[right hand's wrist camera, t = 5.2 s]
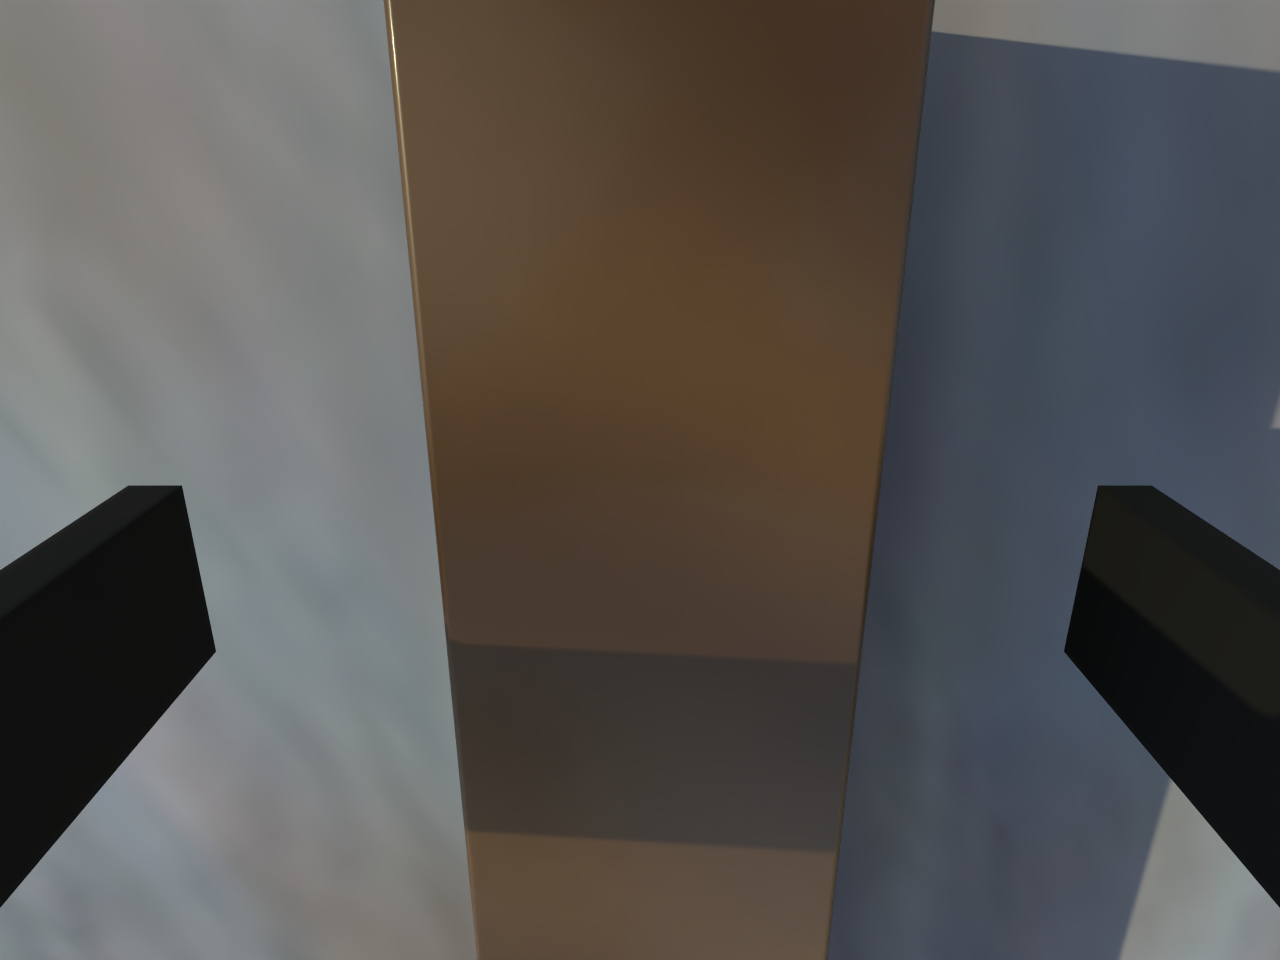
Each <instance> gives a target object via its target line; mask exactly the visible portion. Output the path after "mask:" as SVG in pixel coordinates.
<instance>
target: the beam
mask: <svg viewBox="0 0 1280 960" xmlns="http://www.w3.org/2000/svg"><path fill="white" fill-rule="evenodd" d="M934 5H935V0H384V7H385V17H386V28H387V38H388V48H389V58H390V69H391V79H392V89H393V99H394V110H395V120H396V130H397V140H398V151H399V161H400V171H401V182H402V192H403V202H404V212H405V223H406V233H407V243H408V253H409V264H410V274H411V284H412V294H413V305H414V315H415V325H416V336H417V346H418V356H419V366H420V377H421V387H422V397H423V407H424V418H425V428H426V438H427V448H428V459H429V469H430V479H431V490H432V500H433V510H434V520H435V531H436V541H437V551H438V561H439V572H440V582H441V592H442V602H443V613H444V623H445V633H446V643H447V654H448V664H449V674H450V685H451V695H452V705H453V715H454V726H455V736H456V746H457V756H458V767H459V777H460V787H461V797H462V808H463V818H464V828H465V839H466V849H467V859H468V869H469V880H470V890H471V900H472V910H473V921H474V931H475V941H476V951H477V960H827V958H828V949H829V940H830V931H831V922H832V913H833V904H834V895H835V887H836V878H837V869H838V860H839V851H840V842H841V833H842V824H843V815H844V806H845V797H846V789H847V780H848V771H849V762H850V753H851V744H852V735H853V726H854V717H855V708H856V700H857V691H858V682H859V673H860V664H861V655H862V646H863V637H864V628H865V619H866V611H867V602H868V593H869V584H870V575H871V566H872V557H873V548H874V539H875V530H876V521H877V513H878V504H879V495H880V486H881V477H882V468H883V459H884V450H885V441H886V432H887V424H888V415H889V406H890V397H891V388H892V379H893V370H894V361H895V352H896V343H897V334H898V326H899V317H900V308H901V299H902V290H903V281H904V272H905V263H906V254H907V245H908V237H909V228H910V219H911V210H912V201H913V192H914V183H915V174H916V165H917V156H918V147H919V139H920V130H921V121H922V112H923V103H924V94H925V85H926V76H927V67H928V58H929V50H930V41H931V32H932V23H933V14H934Z"/></svg>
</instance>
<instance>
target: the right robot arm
mask: <svg viewBox="0 0 1280 960" xmlns="http://www.w3.org/2000/svg"><path fill="white" fill-rule="evenodd" d="M215 652H216V649H215V645H214V640H213V635H212V630H211V625H210V620H209V615H208V610H207V606H206V601H205V596H204V591H203V586H202V581H201V576H200V572H199V567H198V562H197V557H196V552H195V547H194V542H193V537H192V533H191V528H190V523H189V518H188V513H187V508H186V503H185V499H184V494H183V489H182V486H127V487H126V488H124V489H123V490H121V491H120V492H118V493H117V494H115V495H113V496H112V497H110V498H109V499H107V500H106V501H104V502H103V503H101V504H100V505H98V506H97V507H95V508H94V509H92V510H91V511H89V512H88V513H86V514H85V515H83V516H82V517H80V518H79V519H77V520H76V521H74V522H73V523H71V524H70V525H68V526H67V527H65V528H63V529H62V530H60V531H59V532H57V533H56V534H54V535H53V536H51V537H50V538H48V539H47V540H45V541H44V542H42V543H41V544H39V545H38V546H36V547H35V548H33V549H32V550H30V551H29V552H27V553H26V554H24V555H23V556H21V557H20V558H18V559H17V560H15V561H13V562H12V563H10V564H9V565H7V566H6V567H4V568H3V569H1V570H0V907H1V906H2V905H3V904H4V903H5V901H6V900H7V899H8V898H9V897H10V895H11V894H12V893H13V892H14V891H15V889H16V888H17V887H18V886H19V885H20V884H21V882H22V881H23V880H24V879H25V878H26V876H27V875H28V874H29V873H30V872H31V870H32V869H33V868H34V867H35V866H36V865H37V863H38V862H39V861H40V860H41V859H42V857H43V856H44V855H45V854H46V853H47V851H48V850H49V849H50V848H51V847H52V846H53V844H54V843H55V842H56V841H57V840H58V838H59V837H60V836H61V835H62V834H63V832H64V831H65V830H66V829H67V828H68V827H69V825H70V824H71V823H72V822H73V821H74V819H75V818H76V817H77V816H78V815H79V813H80V812H81V811H82V810H83V809H84V808H85V806H86V805H87V804H88V803H89V802H90V800H91V799H92V798H93V797H94V796H95V794H96V793H97V792H98V791H99V790H100V789H101V787H102V786H103V785H104V784H105V783H106V781H107V780H108V779H109V778H110V777H111V775H112V774H113V773H114V772H115V771H116V770H117V768H118V767H119V766H120V765H121V764H122V762H123V761H124V760H125V759H126V758H127V756H128V755H129V754H130V753H131V752H132V751H133V749H134V748H135V747H136V746H137V745H138V743H139V742H140V741H141V740H142V739H143V737H144V736H145V735H146V734H147V733H148V732H149V730H150V729H151V728H152V727H153V726H154V724H155V723H156V722H157V721H158V720H159V718H160V717H161V716H162V715H163V714H164V713H165V711H166V710H167V709H168V708H169V707H170V705H171V704H172V703H173V702H174V701H175V699H176V698H177V697H178V696H179V695H180V694H181V692H182V691H183V690H184V689H185V688H186V686H187V685H188V684H189V683H190V682H191V681H192V679H193V678H194V677H195V676H196V675H197V673H198V672H199V671H200V670H201V669H202V667H203V666H204V665H205V664H206V663H207V662H208V660H209V659H210V658H211V657H212V656H213V654H214V653H215ZM1064 652H1065V653H1066V654H1067V656H1068V657H1069V658H1070V659H1071V660H1072V662H1073V663H1074V664H1075V665H1076V666H1077V667H1078V669H1079V670H1080V671H1081V672H1082V673H1083V675H1084V676H1085V677H1086V678H1087V679H1088V681H1089V682H1090V683H1091V684H1092V685H1093V686H1094V688H1095V689H1096V690H1097V691H1098V692H1099V694H1100V695H1101V696H1102V697H1103V698H1104V700H1105V701H1106V702H1107V703H1108V704H1109V705H1110V707H1111V708H1112V709H1113V710H1114V711H1115V713H1116V714H1117V715H1118V716H1119V717H1120V718H1121V720H1122V721H1123V722H1124V723H1125V724H1126V726H1127V727H1128V728H1129V729H1130V730H1131V732H1132V733H1133V734H1134V735H1135V736H1136V737H1137V739H1138V740H1139V741H1140V742H1141V743H1142V745H1143V746H1144V747H1145V748H1146V749H1147V751H1148V752H1149V753H1150V754H1151V755H1152V756H1153V758H1154V759H1155V760H1156V761H1157V762H1158V764H1159V765H1160V766H1161V767H1162V768H1163V770H1164V771H1165V772H1166V773H1167V774H1168V775H1169V777H1170V778H1171V779H1172V780H1173V781H1174V783H1175V784H1176V785H1177V786H1178V787H1179V789H1180V790H1181V791H1182V792H1183V793H1184V794H1185V796H1186V797H1187V798H1188V799H1189V800H1190V802H1191V803H1192V804H1193V805H1194V806H1195V808H1196V809H1197V810H1198V811H1199V812H1200V813H1201V815H1202V816H1203V817H1204V818H1205V819H1206V821H1207V822H1208V823H1209V824H1210V825H1211V827H1212V828H1213V829H1214V830H1215V831H1216V832H1217V834H1218V835H1219V836H1220V837H1221V838H1222V840H1223V841H1224V842H1225V843H1226V844H1227V846H1228V847H1229V848H1230V849H1231V850H1232V851H1233V853H1234V854H1235V855H1236V856H1237V857H1238V859H1239V860H1240V861H1241V862H1242V863H1243V865H1244V866H1245V867H1246V868H1247V869H1248V870H1249V872H1250V873H1251V874H1252V875H1253V876H1254V878H1255V879H1256V880H1257V881H1258V882H1259V884H1260V885H1261V886H1262V887H1263V888H1264V889H1265V891H1266V892H1267V893H1268V894H1269V895H1270V897H1271V898H1272V899H1273V900H1274V901H1275V903H1276V904H1277V905H1278V906H1279V907H1280V570H1279V569H1277V568H1276V567H1274V566H1273V565H1271V564H1270V563H1268V562H1266V561H1265V560H1263V559H1262V558H1260V557H1259V556H1257V555H1256V554H1254V553H1253V552H1251V551H1250V550H1248V549H1247V548H1245V547H1244V546H1242V545H1241V544H1239V543H1238V542H1236V541H1235V540H1233V539H1232V538H1230V537H1229V536H1227V535H1226V534H1224V533H1223V532H1221V531H1220V530H1218V529H1217V528H1215V527H1213V526H1212V525H1210V524H1209V523H1207V522H1206V521H1204V520H1203V519H1201V518H1200V517H1198V516H1197V515H1195V514H1194V513H1192V512H1191V511H1189V510H1188V509H1186V508H1185V507H1183V506H1182V505H1180V504H1179V503H1177V502H1176V501H1174V500H1173V499H1171V498H1170V497H1168V496H1167V495H1165V494H1163V493H1162V492H1160V491H1159V490H1157V489H1156V488H1154V487H1153V486H1098V489H1097V494H1096V499H1095V503H1094V508H1093V513H1092V518H1091V523H1090V528H1089V533H1088V537H1087V542H1086V547H1085V552H1084V557H1083V562H1082V567H1081V572H1080V576H1079V581H1078V586H1077V591H1076V596H1075V601H1074V606H1073V610H1072V615H1071V620H1070V625H1069V630H1068V635H1067V640H1066V644H1065V649H1064Z"/></svg>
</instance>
